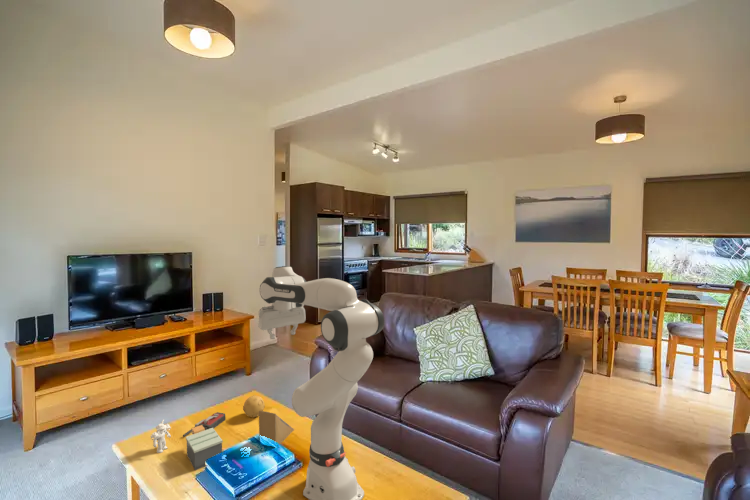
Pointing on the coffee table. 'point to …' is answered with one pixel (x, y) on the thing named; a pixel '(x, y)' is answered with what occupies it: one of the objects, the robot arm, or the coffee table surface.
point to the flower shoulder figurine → (160, 436)
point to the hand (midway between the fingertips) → (282, 336)
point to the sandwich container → (273, 427)
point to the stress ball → (253, 406)
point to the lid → (203, 438)
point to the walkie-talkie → (210, 422)
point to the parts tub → (202, 455)
